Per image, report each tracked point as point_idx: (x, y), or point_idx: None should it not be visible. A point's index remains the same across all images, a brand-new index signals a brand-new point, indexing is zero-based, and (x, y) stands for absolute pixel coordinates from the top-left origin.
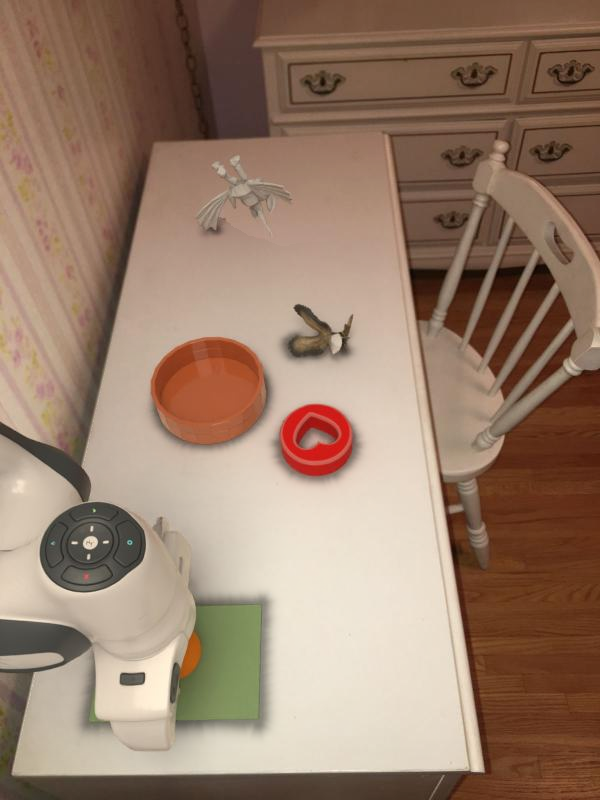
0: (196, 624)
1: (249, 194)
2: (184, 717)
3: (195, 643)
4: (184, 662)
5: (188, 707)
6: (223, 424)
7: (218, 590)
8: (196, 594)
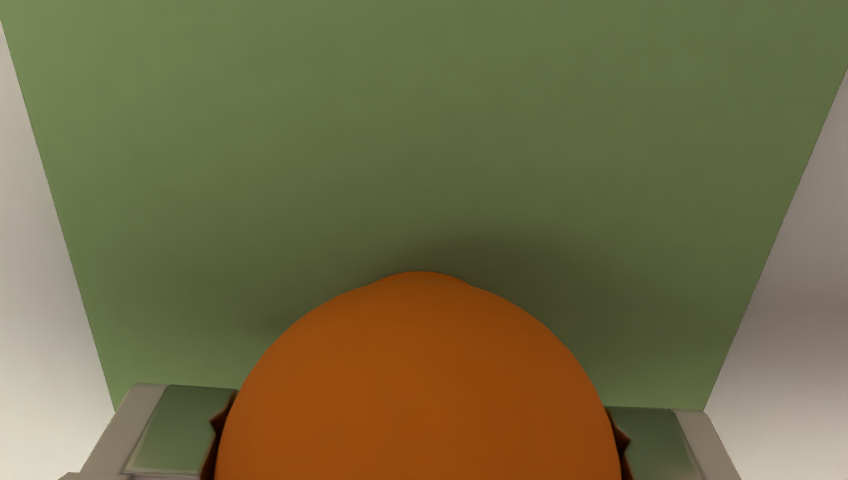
0: (601, 401)
1: None
2: (111, 363)
3: None
4: None
5: (165, 376)
6: None
7: (752, 469)
8: (775, 384)
